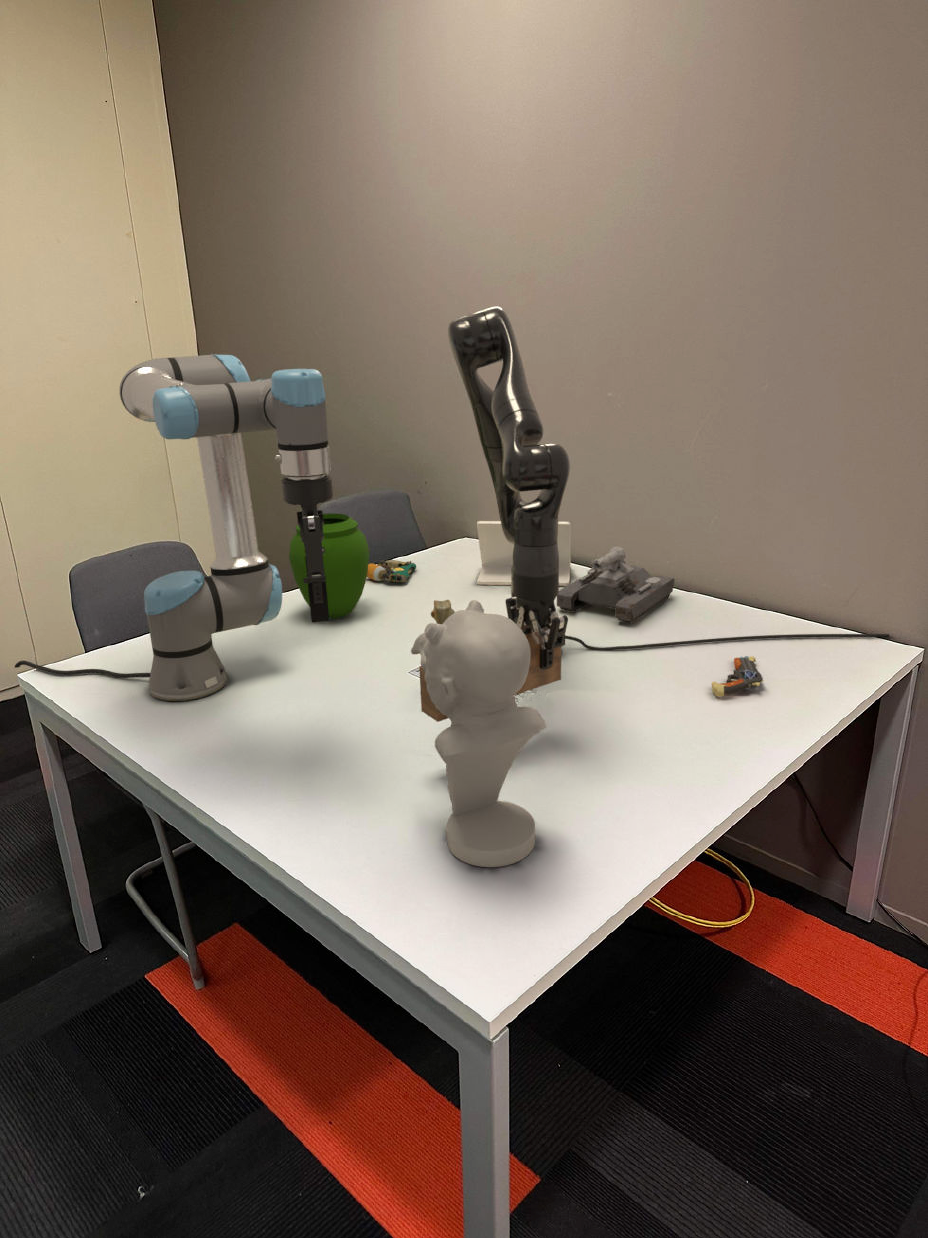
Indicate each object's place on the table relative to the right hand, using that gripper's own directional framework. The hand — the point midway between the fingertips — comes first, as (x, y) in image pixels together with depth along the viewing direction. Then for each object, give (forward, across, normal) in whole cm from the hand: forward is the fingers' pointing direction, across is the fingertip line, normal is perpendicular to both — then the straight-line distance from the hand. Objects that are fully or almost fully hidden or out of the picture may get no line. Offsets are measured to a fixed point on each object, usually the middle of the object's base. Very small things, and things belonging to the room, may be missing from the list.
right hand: (535, 662), depth 146 cm
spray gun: (+15, +98, -29) cm, 103 cm away
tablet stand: (+15, +75, -58) cm, 96 cm away
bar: (+3, 0, +9) cm, 10 cm away
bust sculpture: (+15, -16, +25) cm, 33 cm away
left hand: (-13, +16, +32) cm, 38 cm away
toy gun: (+15, -6, -47) cm, 50 cm away
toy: (+15, +41, -60) cm, 74 cm away
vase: (+15, +81, -1) cm, 82 cm away
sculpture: (+15, +34, -4) cm, 38 cm away
